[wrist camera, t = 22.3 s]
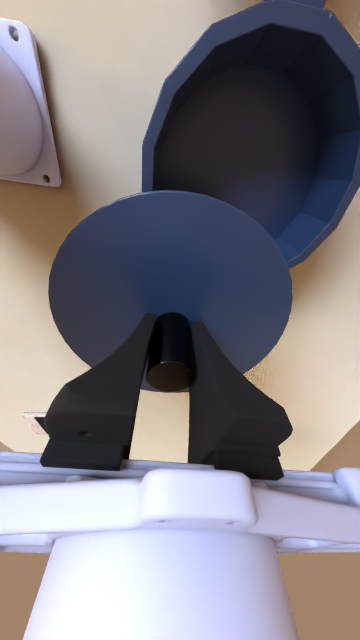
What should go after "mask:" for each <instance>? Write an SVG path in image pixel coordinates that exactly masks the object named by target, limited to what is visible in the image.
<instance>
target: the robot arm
mask: <svg viewBox="0 0 360 640" xmlns="http://www.w3.org/2000/svg"><path fill="white" fill-rule="evenodd" d="M14 30H17V31H18V34H19V40H18V41H15V39H14V36H13V32H14ZM46 175H48V177H49V178H50V182H48V181H47V180H46V178H45V176H46ZM0 179H2V180H9V181H16V182H23V183H30V184H37V185H44V186H51V187H59V186H60V185H61V183H62V180H61V175H60V169H59V164H58V159H57V153H56V148H55V143H54V137H53V132H52V127H51V121H50V116H49V111H48V105H47V100H46V95H45V89H44V84H43V79H42V73H41V68H40V63H39V57H38V52H37V47H36V41H35V38H34V35H33V33H32V31H31V30H30V29H29V28H28V27H27V26H26V25H25V24H24V23H22V22H19V21H14V20H9V19H4V18H0ZM155 319H156V314H152V313H145V314H144V315H143V317H142V319H141V321H140V322H139V324H138V325H137V327H136V328H135V329H134V331H133V332H132V333H131V334H130V335H129V337H128V338H127V339H126V340H125V341H124V342H123V343H122V344H121V345H120V346H119V347H118V348H117V349H116V350H115V351H114V352H112V353H111V354H110V355H109V356H108V357H106V358H105V359H104V360H103V361H101V362H100V363H99V364H97V365H96V366H94V367H93V368H91V369H90V370H88V371H87V372H85V373H84V374H82V375H80V376H78V377H77V378H75V379H73V380H72V381H70V382H68V383H66V384H65V385H64V386H63V388H62V389H61V390H60V392H59V393H58V394H57V396H56V397H55V399H54V400H53V402H52V404H51V406H50V408H49V410H48V412H47V413H46V415H45V417H44V425H45V427H46V430H47V432H48V435H49V437H50V439H49V441H48V444H47V446H46V448H45V450H44V452H43V454H40V453H25V452H10V451H0V551H6V552H33V553H51V555H50V558H49V561H48V564H47V567H46V570H45V573H44V576H43V579H42V583H41V585H40V589H39V592H38V595H37V598H36V601H35V604H34V607H33V610H32V613H31V616H30V619H29V623H28V625H27V628H26V632H25V635H24V638H23V640H299V637H298V633H297V629H296V625H295V621H294V617H293V613H292V610H291V606H290V602H289V598H288V594H287V591H286V586H285V583H284V579H283V575H282V571H281V567H280V563H279V559H278V555H277V553H314V552H360V468H354V467H343V468H339V469H337V470H335V471H333V473H324V472H309V471H294V470H282V467H281V465H280V462H279V459H278V457H279V456H280V451H279V448H278V446H279V445H280V444H281V443H282V442H284V441H285V440H286V439H287V438H288V437H289V436H290V435H291V433H292V430H293V429H292V426H291V423H290V421H289V419H288V416H287V414H286V412H285V410H284V408H283V407H282V406H280V405H279V404H278V403H276V402H275V401H273V400H272V399H271V398H269V397H268V396H267V395H265V394H264V393H263V392H262V391H260V390H259V389H258V388H257V387H255V386H254V385H253V384H252V383H251V382H250V381H249V380H248V379H247V378H246V377H245V376H243V375H242V374H241V373H240V372H239V371H238V370H237V368H236V367H235V366H234V365H233V364H232V363H231V362H230V361H229V359H228V358H227V357H226V356H225V354H224V353H223V352H222V350H221V349H220V348H219V346H218V345H217V343H216V342H215V340H214V339H213V337H212V335H211V334H210V332H209V331H208V329H207V327H206V326H205V324H204V322H200V321H194V322H193V325H192V328H191V338H192V350H193V363H194V375H195V378H194V381H193V383H192V384H191V385H190V386H189V395H190V410H189V446H188V463H175V462H160V461H145V460H130V459H129V454H130V448H131V442H132V436H133V430H134V424H135V418H136V412H137V406H138V400H139V394H140V389H141V384H142V380H143V376H144V372H145V369H146V365H147V361H148V357H149V351H150V344H151V340H152V336H153V331H154V325H155Z"/></svg>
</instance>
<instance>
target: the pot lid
mask: <svg viewBox="0 0 360 640" xmlns="http://www.w3.org/2000/svg"><path fill="white" fill-rule="evenodd" d="M48 294H49V302H50V308H51V312H52V315H53V319H54V321H55V324H56V326H57V328H58V330H59V332H60V334H61V335H62V337H63V339H64V340H65V342H66V343H67V344H68V345H69V347H70V348H71V349H72V350H73V352H74V353H75V354H76V355H77V356H78V357H79V358H81V359H82V360H83V361H84V362H85V363H86V364H88V365H89V366H90V367H91V368H93V367H94V366H96V365H97V364H99V363H100V362H101V361H103V360H104V359H105V358H106V357H108V356H109V355H110V354H111V353H112V352H114V351H115V350H116V349H117V348H118V347H119V346H120V345H121V344H122V343H123V342H124V341H125V340H126V339H127V338H128V337H129V335H130V334H131V333H132V332H133V331H134V329H135V328H136V327H137V325H138V324H139V322H140V321H141V319H142V317H143V315H144V314H145V313H152V314H156V319H155V325H154V331H153V336H152V340H151V344H150V351H149V357H148V361H147V365H146V369H145V372H144V376H143V380H142V384H141V389H143V390H148V391H154V392H166V393H180V392H189V386H190V385H191V384H192V383H193V381H194V378H195V375H194V363H193V350H192V338H191V328H192V325H193V322H194V321H200V322H204V324H205V326H206V327H207V329H208V331H209V332H210V334H211V335H212V337H213V339H214V340H215V342H216V343H217V345H218V346H219V348H220V349H221V350H222V352H223V353H224V354H225V356H226V357H227V358H228V359H229V361H230V362H231V363H232V364H233V365H234V366H235V367H236V368H237V370H238V371H239V372H240V373H241V374H244V373H245V372H247V371H249V370H250V369H252V368H253V367H254V366H255V365H257V364H258V363H259V362H260V361H261V360H262V359H263V358H265V357H266V356H267V355H268V354H269V352H270V351H271V350H272V349H273V347H274V346H275V345H276V344H277V342H278V340H279V339H280V337H281V335H282V334H283V332H284V329H285V327H286V325H287V322H288V319H289V315H290V312H291V305H292V281H291V277H290V272H289V268H288V265H287V263H286V261H285V258H284V256H283V254H282V252H281V250H280V249H279V247H278V246H277V244H276V242H275V241H274V239H273V238H272V237H271V236H270V235H269V234H268V233H267V231H266V230H265V229H264V228H263V227H262V226H261V225H260V224H259V223H257V222H256V221H255V220H253V219H252V218H251V217H250V216H248V215H247V214H246V213H244V212H243V211H241V210H239V209H238V208H236V207H234V206H232V205H230V204H228V203H226V202H224V201H222V200H219V199H216V198H213V197H210V196H207V195H204V194H199V193H193V192H188V191H179V190H158V191H150V192H142V193H137V194H134V195H130V196H127V197H124V198H120V199H118V200H116V201H114V202H112V203H109V204H107V205H105V206H103V207H101V208H99V209H98V210H96V211H95V212H93V213H92V214H91V215H89V216H88V217H86V218H85V219H84V220H82V221H81V222H80V223H79V224H78V225H77V226H76V227H75V228H74V229H73V230H72V231H71V232H70V233H69V235H68V236H67V237H66V239H65V240H64V242H63V243H62V245H61V246H60V248H59V250H58V252H57V254H56V257H55V259H54V261H53V264H52V268H51V272H50V277H49V291H48Z"/></svg>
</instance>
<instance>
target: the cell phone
mask: <svg viewBox="0 0 360 640" xmlns="http://www.w3.org/2000/svg"><path fill="white" fill-rule="evenodd" d="M45 415H46V413H24V414H23V415H22V417H23V418H24V419H25V420H26V421H27V423H28V424H29V425H30V426H31V427H32V428H33V429H34V431H35V432H36V433H37V434H48V432H47V430H46V427H45V425H44V417H45Z"/></svg>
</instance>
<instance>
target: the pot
mask: <svg viewBox="0 0 360 640" xmlns="http://www.w3.org/2000/svg"><path fill="white" fill-rule="evenodd" d="M325 1H326V0H265V1H263V2H261V3H259V4H256V5H254V6H252V7H249V8H247V9H245V10H243V11H240V12H238V13H236V14H234V15H231V16H229V17H227V18H225V19H222V20H220V21H218V22H216V23H213V24H211V26H209V27H208V28H207V29H206V31H205V32H204V33H203V34H202V36H201V37H200V38H199V39H198V40H197V42H196V43H195V44H194V45H193V46H192V48H191V49H190V50H189V51H188V53H187V54H186V55H185V56H184V57H183V59H182V60H181V61H180V62H179V63H178V65H177V66H176V67H175V68H174V69H173V71H172V72H171V73H170V74H169V76H168V77H167V78H166V79H165V82H164V83H163V86H162V89H161V92H160V94H159V97H158V100H157V103H156V106H155V109H154V112H153V115H152V118H151V120H150V123H149V126H148V129H147V132H146V135H145V138H144V141H143V145H142V192H150V191H158V190H179V191H188V192H193V193H199V194H204V195H207V196H210V197H213V198H216V199H219V200H222V201H224V202H226V203H228V204H230V205H232V206H234V207H236V208H238V209H239V210H241V211H243V212H244V213H246V214H247V215H248V216H250V217H251V218H252V219H253V220H255V221H256V222H257V223H259V224H260V225H261V226H262V227H263V228H264V229H265V230H266V231H267V233H268V234H269V235H270V236H271V237H272V238H273V239H274V241H275V242H276V244H277V246H278V247H279V249H280V250H281V252H282V254H283V256H284V258H285V261H286V263H287V265H288V268H289V269H290V268H292V267H294V266H295V265H297V264H299V263H301V262H302V261H304V260H305V259H307V258H308V256H309V255H310V254H311V253H312V252H313V251H314V250H315V249H316V248H317V247H318V246H319V245H320V244H321V243H322V242H323V241H324V240H325V239H326V238H327V237H328V236H329V235H330V234H331V233H332V232H333V231H334V230H335V229H336V228H337V226H338V224H339V222H340V221H341V219H342V217H343V215H344V213H345V212H346V210H347V208H348V206H349V204H350V203H351V201H352V199H353V197H354V195H355V194H356V192H357V190H358V188H359V186H360V48H359V47H358V46H357V44H356V43H355V41H354V40H353V39H352V37H351V36H350V35H349V33H348V32H347V31H346V29H345V28H344V27H343V25H342V24H341V23H340V21H339V20H338V19H337V17H336V16H335V15H334V13H331V11H329V10H324V9H323V7H324V4H325Z"/></svg>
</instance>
